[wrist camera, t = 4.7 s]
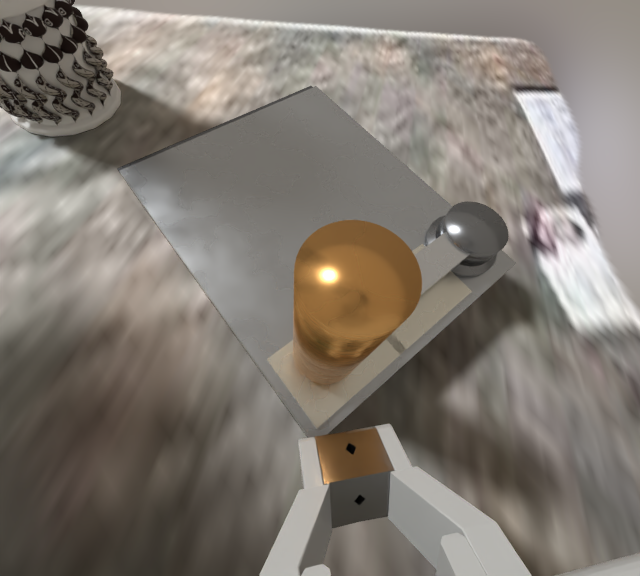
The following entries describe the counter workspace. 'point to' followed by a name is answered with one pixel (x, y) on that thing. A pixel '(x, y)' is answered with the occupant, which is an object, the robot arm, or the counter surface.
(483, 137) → the counter surface
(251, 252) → the grey lever board
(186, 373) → the counter surface
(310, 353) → the lever
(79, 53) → the decorative candle
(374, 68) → the counter surface
